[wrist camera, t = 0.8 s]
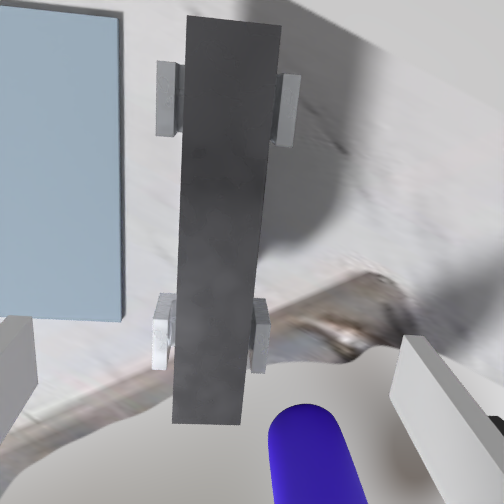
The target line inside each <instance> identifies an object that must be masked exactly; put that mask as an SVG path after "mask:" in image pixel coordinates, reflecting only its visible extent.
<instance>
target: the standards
mask: <svg viewBox="0 0 504 504" xmlns="http://www.w3.org/2000/svg"><path fill="white" fill-rule="evenodd" d="M184 82H185V65H180V64H178V63H176V62H166V61H157V86H156V136H164V137H174V136H175V135H176V133H177V132H183V110H184ZM300 82H301V75H294V74H284V73H283V74H276V84H275V94H274V103H273V113H272V123H271V132H270V140H271V141H272V142H273V143H274V145H275V146H281V147H292V148H293V139H294V131H295V123H296V115H297V107H298V98H299V90H300ZM176 302H177V294H171V293H160V296H159V299H158V303H157V306H156V310H155V313H154V317H153V337H152V369H153V370H167V364H168V359H169V353H170V348H171V346H173V347H175V329H176ZM270 329H271V323H270V318H269V313H268V308H267V304H266V299H265V298H253V306H252V316H251V326H250V336H249V345H248V350H249V357H250V367H251V373H263V374H265V370H266V362H267V353H268V345H269V337H270Z"/></svg>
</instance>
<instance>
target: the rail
mask: <svg viewBox="0 0 504 504" xmlns="http://www.w3.org/2000/svg"><path fill="white" fill-rule="evenodd" d="M280 36H281V26H278V25H269V24H260V23H251V22H242V21H233V20H224V19H215V18H206V17H197V16H189V15H187V27H186V55H185V82H184V110H183V137H182V164H181V192H180V219H179V247H178V274H177V302H176V329H175V357H174V384H173V412H172V423H174V424H177V423H178V424H214V425H215V424H216V425H217V424H218V425H240V423H241V413H242V402H243V393H244V383H245V373H246V365H247V355H248V345H249V336H250V326H251V316H252V306H253V297H254V287H255V277H256V268H257V258H258V248H259V239H260V229H261V219H262V210H263V200H264V190H265V181H266V171H267V161H268V152H269V142H270V132H271V123H272V113H273V103H274V94H275V84H276V74H277V65H278V55H279V45H280Z"/></svg>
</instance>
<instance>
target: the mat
mask: <svg viewBox="0 0 504 504" xmlns="http://www.w3.org/2000/svg"><path fill="white" fill-rule="evenodd" d="M8 315H16V316H32V318H37V319H59V320H80V321H102V322H121V321H122V271H121V183H120V95H119V19H117V18H110V17H101V16H92V15H83V14H74V13H65V12H56V11H46V10H37V9H28V8H19V7H10V6H1V5H0V317H7V316H8Z"/></svg>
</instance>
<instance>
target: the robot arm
mask: <svg viewBox="0 0 504 504" xmlns="http://www.w3.org/2000/svg"><path fill="white" fill-rule="evenodd" d="M37 385H38V376H37V365H36V354H35V343H34V332H33V321H32V316H16V315H8V316H7V317H6V318H5V320H4V321H3V322H2V323H1V324H0V445H1V443H2V442H3V440H4V438H5V437H6V435H7V433H8V432H9V430H10V429H11V427H12V425H13V424H14V422H15V420H16V419H17V417H18V416H19V414H20V412H21V411H22V409H23V407H24V406H25V404H26V403H27V401H28V399H29V398H30V396H31V394H32V393H33V391H34V390H35V388H36V386H37ZM389 398H390V400H391V402H392V403H393V405H394V407H395V409H396V411H397V413H398V415H399V417H400V419H401V421H402V422H403V424H404V426H405V428H406V430H407V432H408V434H409V436H410V438H411V439H412V441H413V443H414V445H415V447H416V449H417V451H418V453H419V455H420V456H421V458H422V460H423V462H424V464H425V466H426V468H427V470H428V472H429V473H430V475H431V477H432V479H433V481H434V483H435V485H436V487H437V489H438V491H439V492H440V494H441V496H442V498H443V500H444V502H445V504H504V420H502V419H501V418H500V417H498V416H487V415H486V414H485V412H484V411H483V410H482V409H481V407H480V406H479V405H478V404H477V402H476V401H475V400H474V398H473V397H472V396H471V395H470V394H469V392H468V391H467V390H466V389H465V387H464V386H463V385H462V383H461V382H460V381H459V380H458V378H457V377H456V376H455V375H454V373H453V372H452V371H451V369H450V368H449V367H448V366H447V364H446V363H445V362H444V361H443V360H442V358H441V357H440V356H439V354H438V353H437V352H436V351H435V349H434V348H433V347H432V346H431V344H430V343H429V342H428V341H427V339H426V338H425V337H424V336H417V335H404V336H403V340H402V344H401V348H400V353H399V357H398V361H397V365H396V369H395V373H394V377H393V381H392V386H391V389H390V394H389Z"/></svg>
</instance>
